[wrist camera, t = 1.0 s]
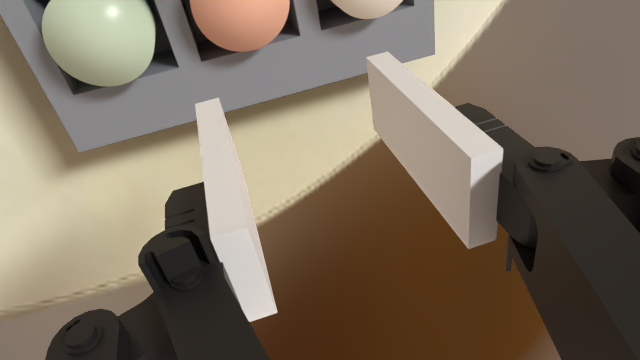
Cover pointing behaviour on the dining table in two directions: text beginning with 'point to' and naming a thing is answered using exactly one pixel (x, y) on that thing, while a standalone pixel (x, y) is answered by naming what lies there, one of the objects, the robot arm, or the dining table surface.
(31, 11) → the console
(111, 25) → the button sage
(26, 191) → the dining table surface
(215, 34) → the button terracotta
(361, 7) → the button cream
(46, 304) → the dining table surface
